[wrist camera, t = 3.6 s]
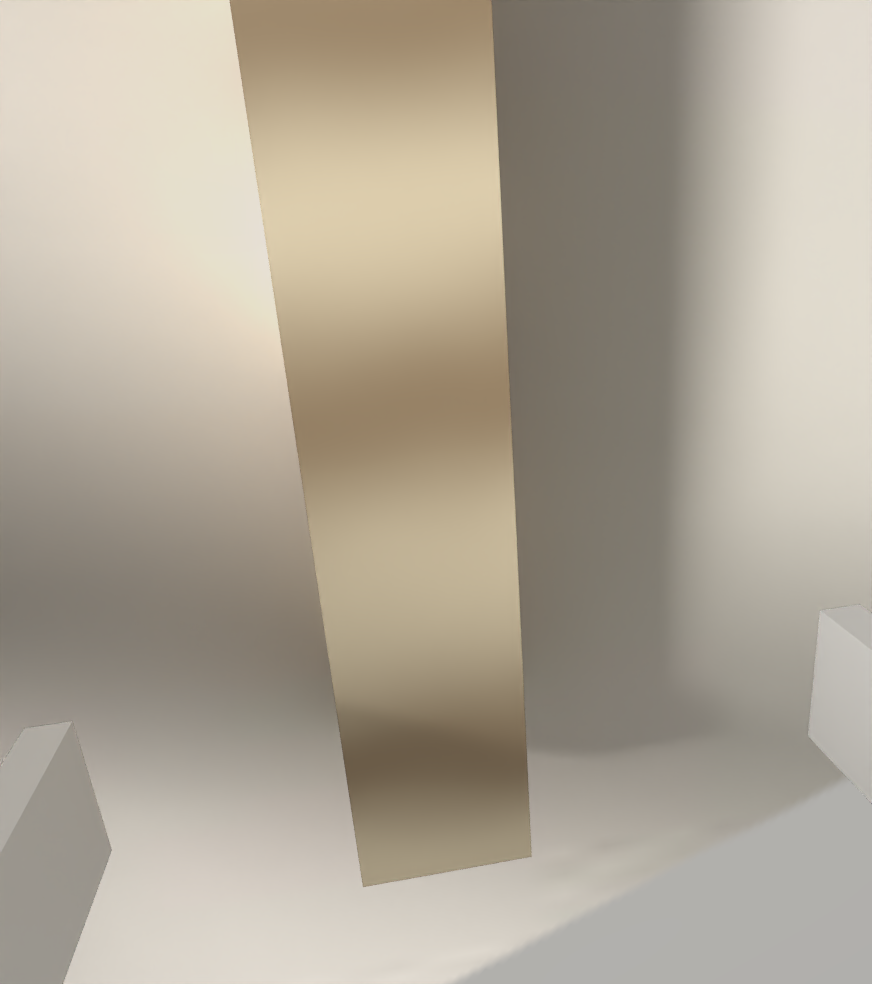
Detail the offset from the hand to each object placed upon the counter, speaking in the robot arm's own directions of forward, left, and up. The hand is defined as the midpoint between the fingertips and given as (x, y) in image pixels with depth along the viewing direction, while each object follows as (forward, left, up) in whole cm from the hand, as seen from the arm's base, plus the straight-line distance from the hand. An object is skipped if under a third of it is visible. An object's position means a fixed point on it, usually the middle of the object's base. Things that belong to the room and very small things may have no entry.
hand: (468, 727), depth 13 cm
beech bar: (+3, +4, -9) cm, 10 cm away
